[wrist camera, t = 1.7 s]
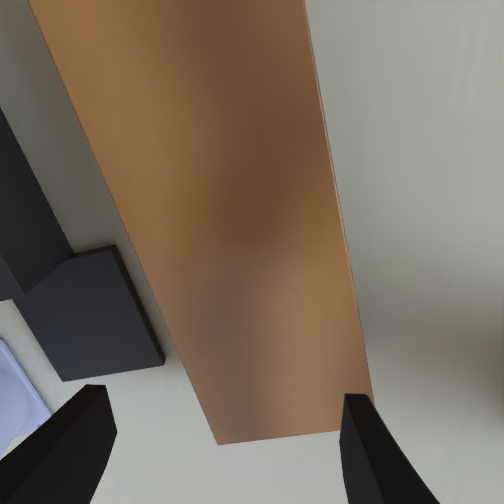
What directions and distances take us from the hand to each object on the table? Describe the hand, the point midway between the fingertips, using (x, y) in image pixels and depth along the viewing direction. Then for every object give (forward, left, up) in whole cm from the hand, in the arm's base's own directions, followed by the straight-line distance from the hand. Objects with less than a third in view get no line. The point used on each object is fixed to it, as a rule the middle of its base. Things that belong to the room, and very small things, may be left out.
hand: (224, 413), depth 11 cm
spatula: (-10, +4, -10) cm, 15 cm away
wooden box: (+1, +5, -10) cm, 11 cm away
